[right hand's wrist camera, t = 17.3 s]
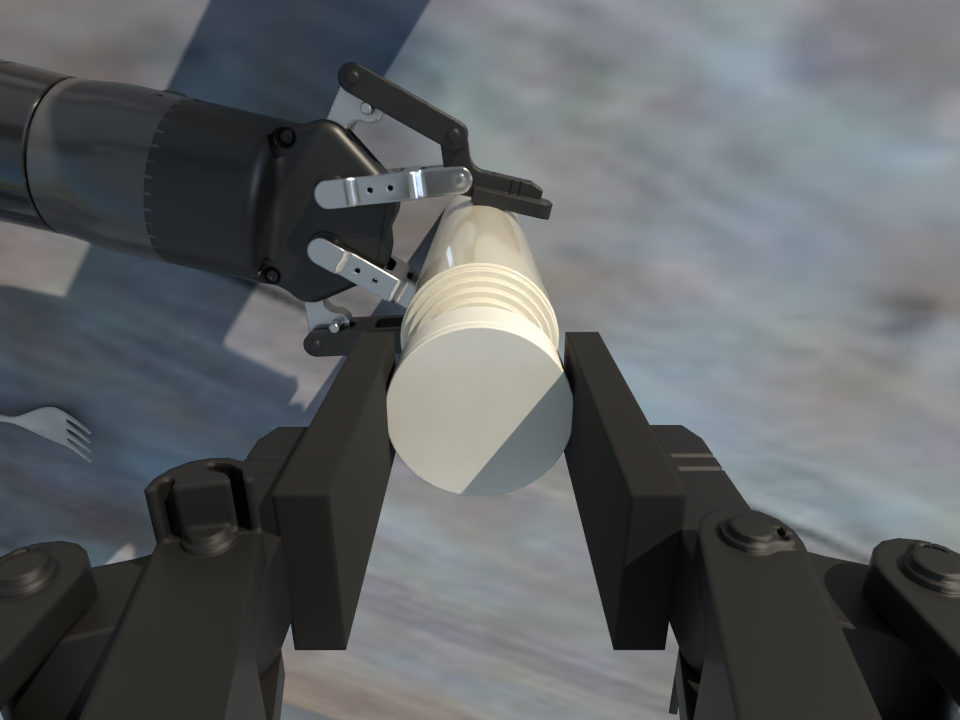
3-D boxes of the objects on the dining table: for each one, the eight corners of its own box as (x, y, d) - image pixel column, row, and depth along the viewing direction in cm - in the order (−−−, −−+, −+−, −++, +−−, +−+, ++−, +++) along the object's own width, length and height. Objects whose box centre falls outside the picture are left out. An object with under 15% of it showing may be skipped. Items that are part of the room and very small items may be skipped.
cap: (508, 488, 15) (510, 524, 14) (364, 415, 15) (352, 446, 13) (599, 359, 14) (612, 386, 13) (447, 272, 13) (443, 290, 12)
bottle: (499, 173, 34) (533, 270, 12) (530, 246, 36) (610, 446, 14) (427, 208, 35) (340, 357, 13) (461, 277, 37) (434, 516, 15)
